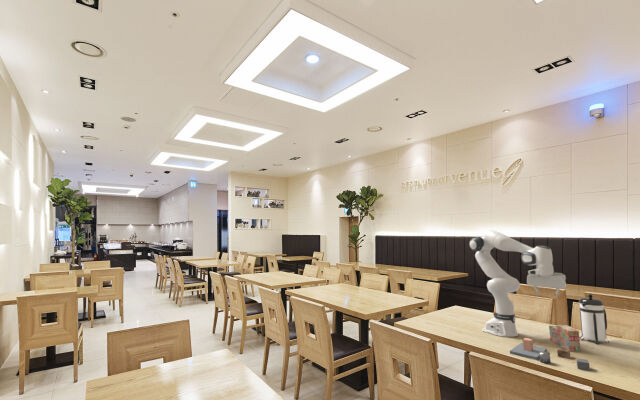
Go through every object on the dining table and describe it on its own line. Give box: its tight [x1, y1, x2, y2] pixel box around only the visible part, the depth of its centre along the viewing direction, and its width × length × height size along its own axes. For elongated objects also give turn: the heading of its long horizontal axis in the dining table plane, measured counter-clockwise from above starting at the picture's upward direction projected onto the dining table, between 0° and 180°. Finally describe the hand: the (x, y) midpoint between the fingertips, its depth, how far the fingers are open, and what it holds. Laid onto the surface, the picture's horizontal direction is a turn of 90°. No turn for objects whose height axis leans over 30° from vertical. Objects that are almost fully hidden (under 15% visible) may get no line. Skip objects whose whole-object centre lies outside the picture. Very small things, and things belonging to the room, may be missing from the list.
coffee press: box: [578, 293, 610, 346], centre depth 218 cm, size 17×16×30 cm
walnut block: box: [557, 347, 571, 360], centre depth 191 cm, size 5×5×4 cm
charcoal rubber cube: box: [575, 357, 591, 372], centre depth 175 cm, size 5×5×4 cm
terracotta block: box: [522, 337, 534, 351], centre depth 199 cm, size 4×4×6 cm
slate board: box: [509, 342, 548, 361], centre depth 198 cm, size 14×20×2 cm
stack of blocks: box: [548, 324, 581, 352], centre depth 210 cm, size 21×6×12 cm, turn 173°
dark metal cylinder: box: [539, 351, 552, 365], centre depth 184 cm, size 5×5×5 cm
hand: (546, 294), depth 205 cm, fingers open, 8 cm apart
